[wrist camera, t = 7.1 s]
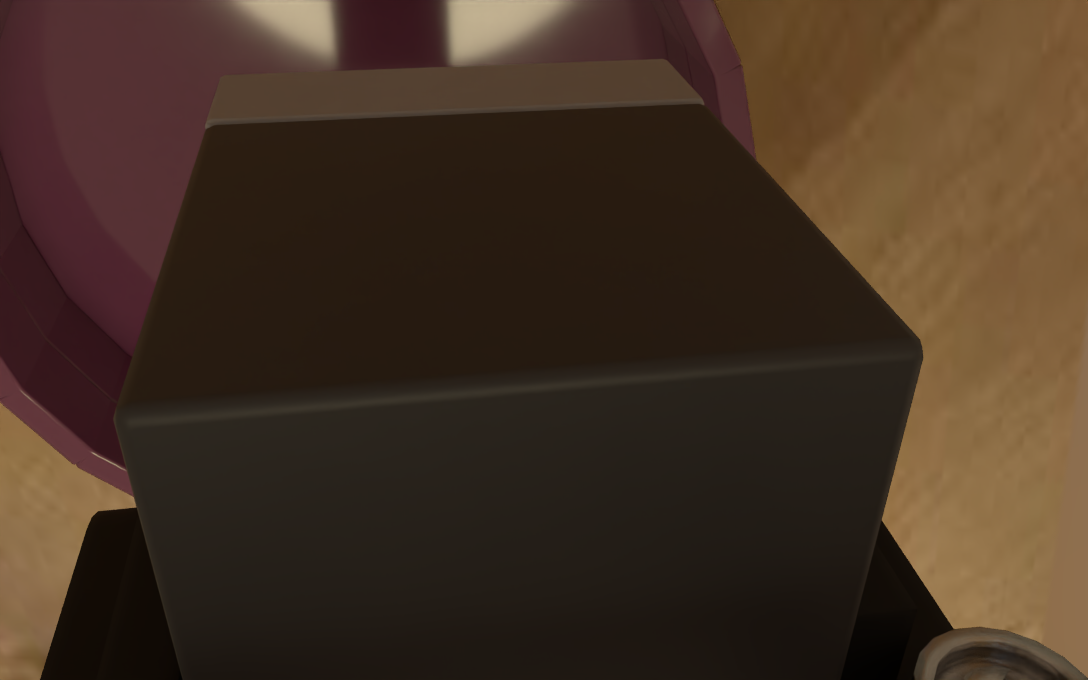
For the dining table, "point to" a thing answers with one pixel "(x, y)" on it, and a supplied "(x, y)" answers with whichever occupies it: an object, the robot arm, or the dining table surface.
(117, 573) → the robot arm
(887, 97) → the dining table surface
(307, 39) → the bowl
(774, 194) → the eraser
